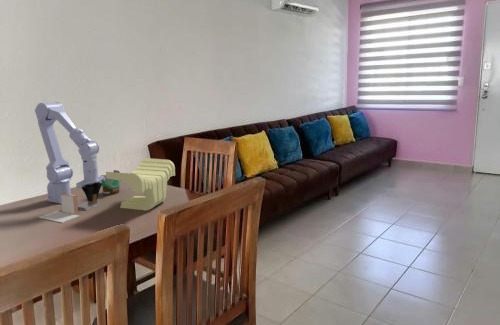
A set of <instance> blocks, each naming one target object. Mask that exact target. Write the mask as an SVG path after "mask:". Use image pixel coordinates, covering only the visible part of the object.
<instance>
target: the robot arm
mask: <svg viewBox="0 0 500 325" xmlns="http://www.w3.org/2000/svg"><path fill="white" fill-rule="evenodd" d="M34 113H35V115H36V119H37V124H38V128H39V131H40V134H41V135H40V136H41V137H42V141H43V144H44V147H45V150H46V154H47V157H48V161H49V162H48V164H47V165H46V167H45V170H46V177H47V181H49V182H48V184H47V187H46V189H47V191H46V192H47V199H46V201H47V202H50V203H56V204H60V205H62V202H61V194H63V193H66V194H72V193H71V183H70V181H71V178H72V177H73V175H74V170H73V168H72V167H71V166H70V163H69V161H67V160H65V159H64V157H63V155H62V152H61V147H60V144H59V142H58V138H57V135H56V131H55V128H54V123H55V122H56V121H58V123H59V124H61V126H62V127H64V128H65V130H67V132H68V133H69V134H68V135H69V138H70V140H71V141H72V142H73V143H74V144H75V146H77V148H78V153H79V155H80V157H81V161H82V172H83V180H81V181H78V182H76V184H75V185H76V188H77V189H81V190H82V191H83V193H84V195H85V197H86V199H87V202H88V201H92V200H93V193H95V194H97V200H98V198H99V193H100V190H101V188H102V181H105V176H101V175H100V176H99V173H98V172H99V171H98V159H97V158H98V156H97V154H98V153H99V151H100V145H99V144H98V142H97V141H94V140H92V139H91V138H90V137H88V135H87V134H86V133H85V131H84V130H83V129H81V128H78V127H76V125H75V124H74V123H73V121H72V119H71V118H70V117H69V115H67V113H66V108H65V107H64V106H63V105H62V103H61V102H58V101H54V102H39V103H38V104H37V105H36V107H35V109H34Z"/></svg>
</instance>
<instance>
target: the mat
mask: <svg viewBox="0 0 500 325" xmlns="http://www.w3.org/2000/svg"><path fill="white" fill-rule="evenodd" d="M79 217H80V215H79V214H77V215H73V214H68V213H63V212H62V211H57V210H55V211H53V212H50V213H47V214H44V215H42V216H39V217H38V218H39V219H42V220H46V221H51V222H56V223H61V224H63V223H67V222H69V221H71V220H74V219H76V218H79Z"/></svg>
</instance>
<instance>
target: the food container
mask: <svg viewBox="0 0 500 325" xmlns="http://www.w3.org/2000/svg"><path fill="white" fill-rule="evenodd" d="M113 172H116V173H121V171H119V170H116V169H115V170H114V169H113ZM100 176H105V181H101V183H102V186H101V188H102V193H103V196H115V195H117V194H119V193H120V182H121V181H120V180H114V179H106V174H105V175H104V174H101V175H100Z"/></svg>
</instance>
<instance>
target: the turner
mask: <svg viewBox="0 0 500 325" xmlns="http://www.w3.org/2000/svg"><path fill="white" fill-rule="evenodd" d="M98 206H101V203H100V202H98V199H97V194H95V193H93V200H92V201H88V200H87V201H86V202H82V203H80V204H77V207H78V210H83V211H87V210H90V209H93V208H96V207H98Z"/></svg>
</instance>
